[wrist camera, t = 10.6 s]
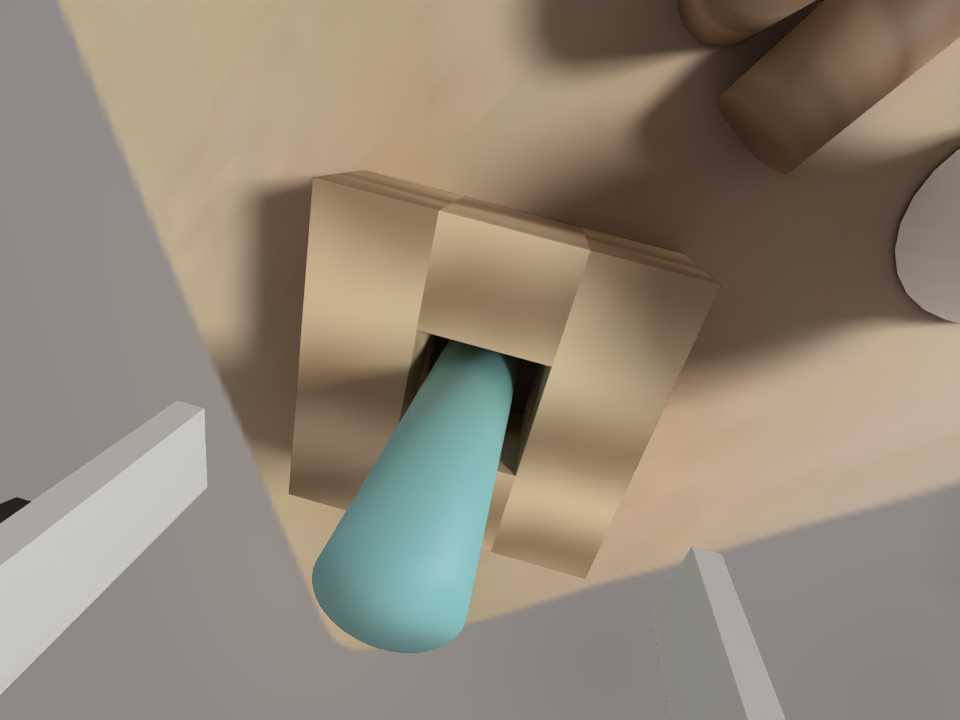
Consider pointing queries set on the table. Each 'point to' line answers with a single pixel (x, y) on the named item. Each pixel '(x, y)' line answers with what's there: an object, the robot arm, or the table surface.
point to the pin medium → (833, 73)
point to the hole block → (495, 326)
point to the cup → (933, 243)
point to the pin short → (733, 18)
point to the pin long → (422, 510)
